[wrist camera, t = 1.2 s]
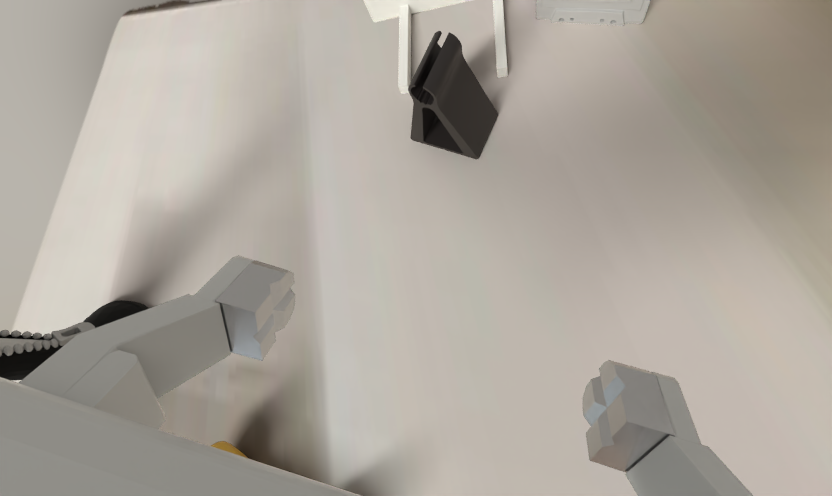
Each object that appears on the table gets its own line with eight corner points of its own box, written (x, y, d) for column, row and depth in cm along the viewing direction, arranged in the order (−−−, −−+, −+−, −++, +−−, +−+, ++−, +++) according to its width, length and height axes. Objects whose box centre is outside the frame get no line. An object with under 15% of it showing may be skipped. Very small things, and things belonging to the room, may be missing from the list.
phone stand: (411, 139, 48) (377, 75, 37) (431, 98, 49) (403, 23, 38) (478, 160, 45) (462, 97, 34) (498, 116, 46) (490, 40, 35)
